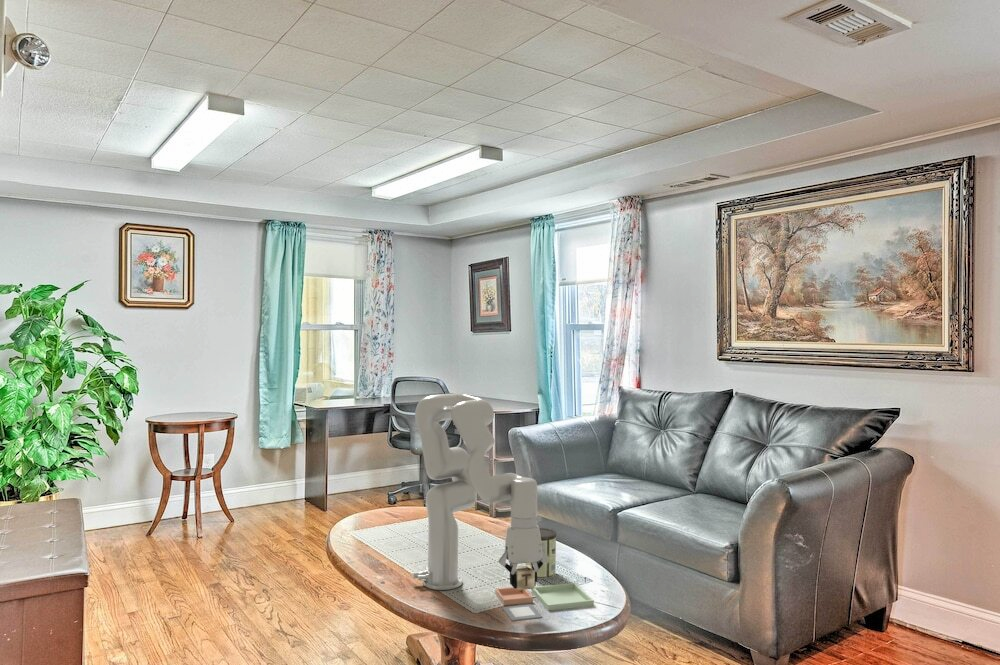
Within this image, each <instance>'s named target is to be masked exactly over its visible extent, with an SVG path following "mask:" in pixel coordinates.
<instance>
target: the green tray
mask: <svg viewBox="0 0 1000 665" xmlns="http://www.w3.org/2000/svg"><path fill="white" fill-rule="evenodd" d="M530 591H531V593H532V594H533V595H534V596H535V598H536V599H537V600H538V601H539V602H540V604H541V605H542V606H544V608H545V609H546V610H547V611H556V610H564V609H565V610H566V609H575V608H585V607H592V606H594V605H595V600H594V599H593V598H592V597H591V596H590V595H588V593H586V592H585V591H584V590H583V589H582V588H581V587H580V586H579V585H578V584H577V583H576V582H572V583H569V582H568V583H561V584H560V583H559V584H558V583H557V584H549V585H538V586H535V589H531V590H530Z"/></svg>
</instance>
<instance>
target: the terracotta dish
mask: <svg viewBox="0 0 1000 665" xmlns="http://www.w3.org/2000/svg"><path fill="white" fill-rule="evenodd" d="M494 594H495V596H496V598H497V599H498V600H499V601H500V603H502V605H503V606H511V605H512V606H513V605H522V604H528V603H529V604H532V603H534V602H533V601H534V597H533V595H532V594H531V593H530V592H529V591H528V589H525V590H517V589H516V588H514V587H513V586H511V587H510V586H508V587H501V588H500V587H499V588H495V589H494Z"/></svg>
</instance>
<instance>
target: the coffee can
mask: <svg viewBox="0 0 1000 665" xmlns="http://www.w3.org/2000/svg"><path fill="white" fill-rule="evenodd" d="M539 529H540V535H541V543H542V550H543V552H544V553H545V554H546V555H547V557H548V560H547V561H546V562H545V563H543V565H542V566H541V567H540V569H539V571H538V572H537V579H539V580H540V579H550V578H551V579H552V578H553V577H555V575H556V563H557V561H556V554H557V553H556V552H557V551H556V550H557V531H555V530H553V529H550V528H544V527H539ZM525 565H529V566H530V567H531V563H524V566H525ZM531 568H532V567H531Z"/></svg>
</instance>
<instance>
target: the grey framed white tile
mask: <svg viewBox="0 0 1000 665" xmlns="http://www.w3.org/2000/svg"><path fill="white" fill-rule="evenodd" d="M502 610H503V611H504V613H505V614H506V616H507V617H508V618H509V619H510V620H511V622H515V621H516V622H517V621H524V620H526V621H527V620H533V619H542V618H543V616H542V614H541V613H540V611H538V610H537V608H536V607H535V606H534V605H533V603H529V604H528V603H527V604H517V605H512V606H511V605H508V606H502Z"/></svg>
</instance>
